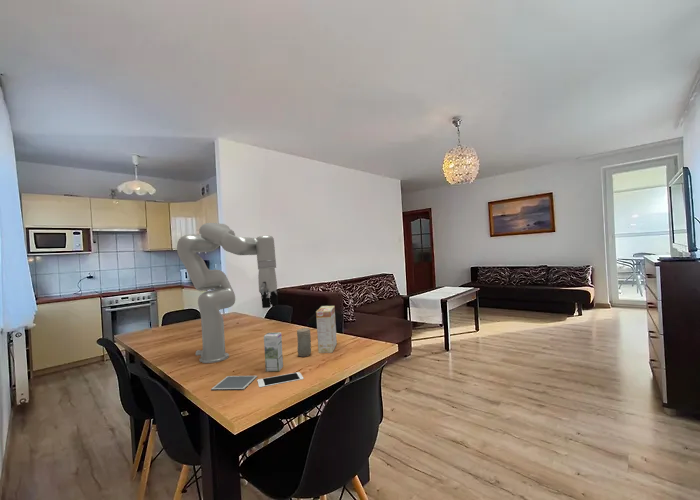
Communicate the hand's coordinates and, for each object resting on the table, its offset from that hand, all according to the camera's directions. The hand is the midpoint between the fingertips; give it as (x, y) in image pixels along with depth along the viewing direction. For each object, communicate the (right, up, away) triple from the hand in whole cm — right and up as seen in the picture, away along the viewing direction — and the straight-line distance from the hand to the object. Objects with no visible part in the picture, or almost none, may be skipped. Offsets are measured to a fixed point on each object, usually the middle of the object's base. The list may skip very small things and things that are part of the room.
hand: (270, 306), depth 137 cm
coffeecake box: (+23, -25, +22) cm, 40 cm away
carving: (+13, -25, +13) cm, 31 cm away
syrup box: (+3, -25, -4) cm, 26 cm away
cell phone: (+8, -25, -16) cm, 31 cm away
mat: (-9, -26, -17) cm, 32 cm away
